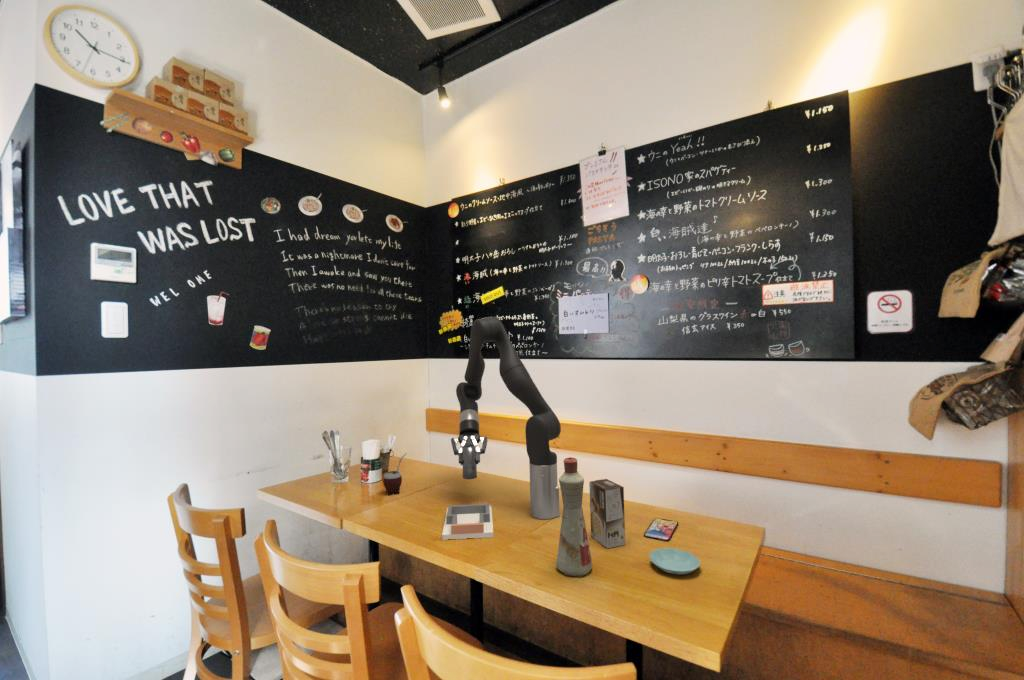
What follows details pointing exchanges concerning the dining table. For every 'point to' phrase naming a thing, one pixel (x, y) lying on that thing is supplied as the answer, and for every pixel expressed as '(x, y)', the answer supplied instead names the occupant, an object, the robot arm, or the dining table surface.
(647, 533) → the smartphone
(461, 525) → the keyhole guide
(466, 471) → the metal peg
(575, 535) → the bottle
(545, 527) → the dining table surface
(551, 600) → the dining table surface
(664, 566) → the saucer
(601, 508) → the coffee box
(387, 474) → the mate gourd
